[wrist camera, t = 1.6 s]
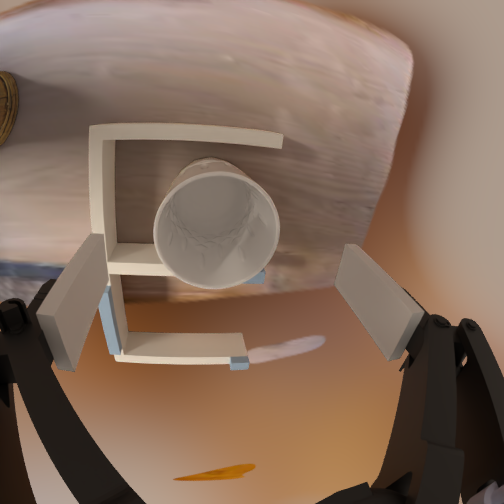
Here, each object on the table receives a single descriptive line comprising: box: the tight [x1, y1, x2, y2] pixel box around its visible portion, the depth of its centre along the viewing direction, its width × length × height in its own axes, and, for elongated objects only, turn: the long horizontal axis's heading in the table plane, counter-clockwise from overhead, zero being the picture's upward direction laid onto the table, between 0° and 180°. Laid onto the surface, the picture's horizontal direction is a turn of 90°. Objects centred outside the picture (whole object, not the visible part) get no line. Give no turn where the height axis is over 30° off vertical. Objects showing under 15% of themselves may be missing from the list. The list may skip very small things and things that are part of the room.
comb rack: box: [89, 123, 284, 370], centre depth 26 cm, size 15×25×5 cm, turn 172°
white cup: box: [153, 157, 280, 289], centre depth 22 cm, size 8×8×10 cm
